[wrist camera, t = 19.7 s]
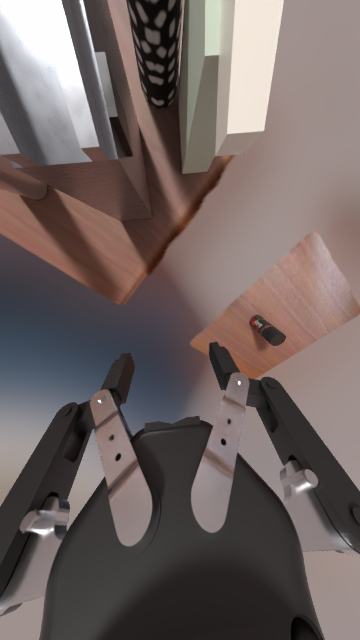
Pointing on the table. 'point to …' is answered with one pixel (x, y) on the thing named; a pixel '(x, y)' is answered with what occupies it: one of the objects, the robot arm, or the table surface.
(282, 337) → the deodorant
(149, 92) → the black white cylinder
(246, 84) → the cream tall brick
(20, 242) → the table surface
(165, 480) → the robot arm
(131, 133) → the tower
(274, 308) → the table surface
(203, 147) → the pale green tall brick
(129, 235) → the table surface
